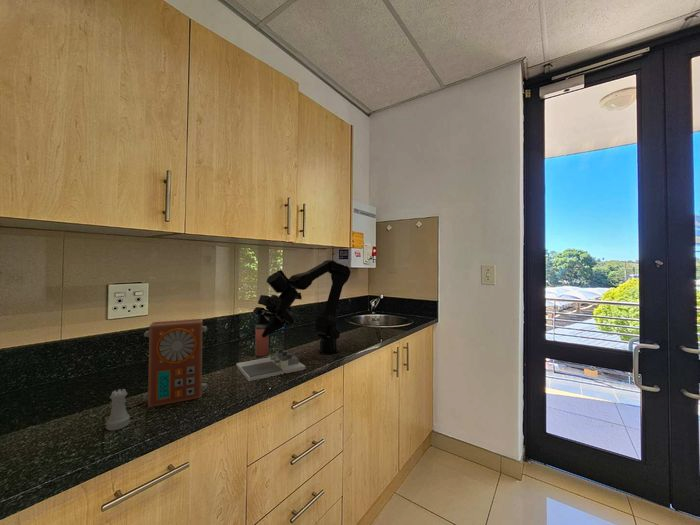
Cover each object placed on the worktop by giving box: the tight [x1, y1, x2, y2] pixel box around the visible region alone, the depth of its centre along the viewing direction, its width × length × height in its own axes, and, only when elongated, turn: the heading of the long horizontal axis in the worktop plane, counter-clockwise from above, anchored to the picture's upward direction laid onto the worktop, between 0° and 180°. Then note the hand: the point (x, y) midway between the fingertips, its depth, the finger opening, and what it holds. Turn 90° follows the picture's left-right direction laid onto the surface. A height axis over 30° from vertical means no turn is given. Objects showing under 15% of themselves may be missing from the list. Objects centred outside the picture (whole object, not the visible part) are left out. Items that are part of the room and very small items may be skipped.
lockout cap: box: [254, 324, 270, 357], centre depth 101 cm, size 4×4×10 cm
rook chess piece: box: [105, 388, 131, 432], centre depth 66 cm, size 4×4×8 cm
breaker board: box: [235, 348, 306, 382], centre depth 106 cm, size 20×17×5 cm
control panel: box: [142, 318, 208, 408], centre depth 81 cm, size 21×7×15 cm
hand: (258, 335), depth 100 cm, fingers closed on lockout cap, 4 cm apart
